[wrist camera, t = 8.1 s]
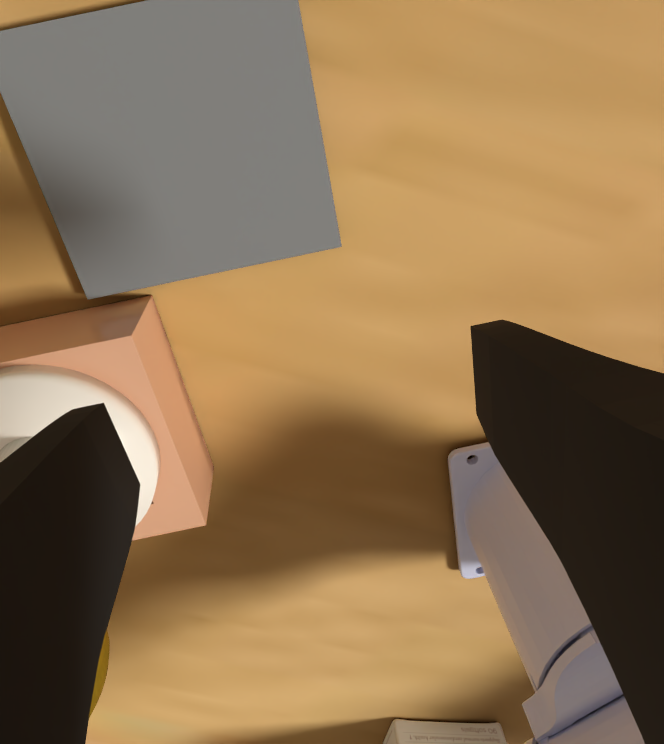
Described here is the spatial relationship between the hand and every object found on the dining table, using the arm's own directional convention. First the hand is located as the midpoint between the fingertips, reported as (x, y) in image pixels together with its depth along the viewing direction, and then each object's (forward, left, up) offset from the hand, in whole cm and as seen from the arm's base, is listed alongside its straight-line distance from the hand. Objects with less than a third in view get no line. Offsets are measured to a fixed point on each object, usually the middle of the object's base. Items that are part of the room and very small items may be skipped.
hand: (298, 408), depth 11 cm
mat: (+3, -4, -10) cm, 11 cm away
